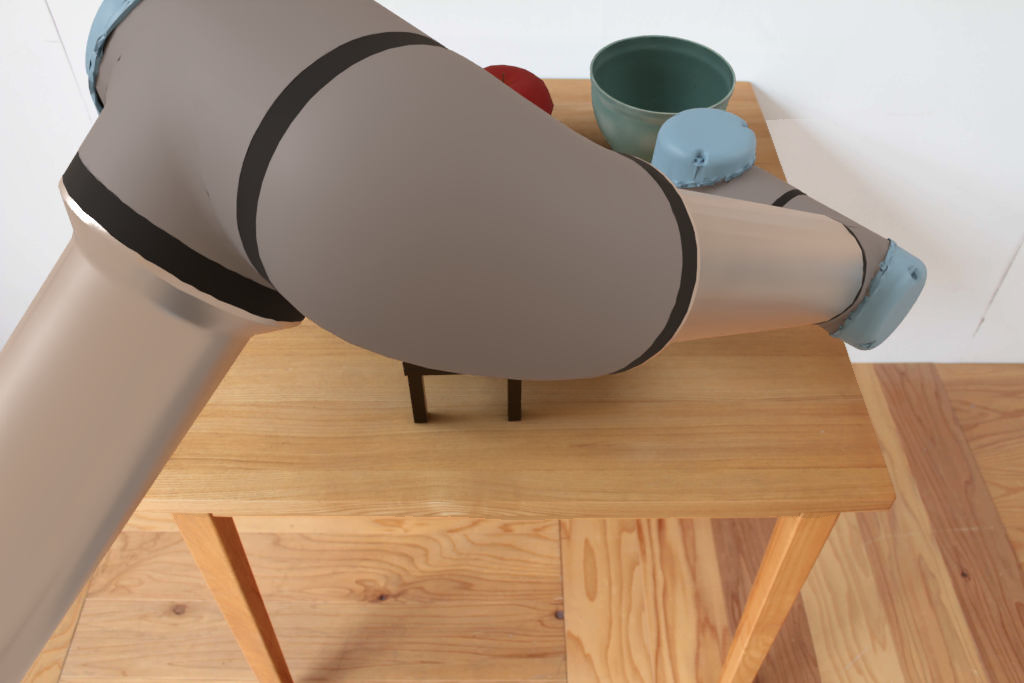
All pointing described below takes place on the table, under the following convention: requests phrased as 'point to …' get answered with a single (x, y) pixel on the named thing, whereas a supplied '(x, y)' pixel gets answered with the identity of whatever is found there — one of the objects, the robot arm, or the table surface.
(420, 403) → the small black table
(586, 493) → the table surface
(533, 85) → the apple
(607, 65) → the flower pot
